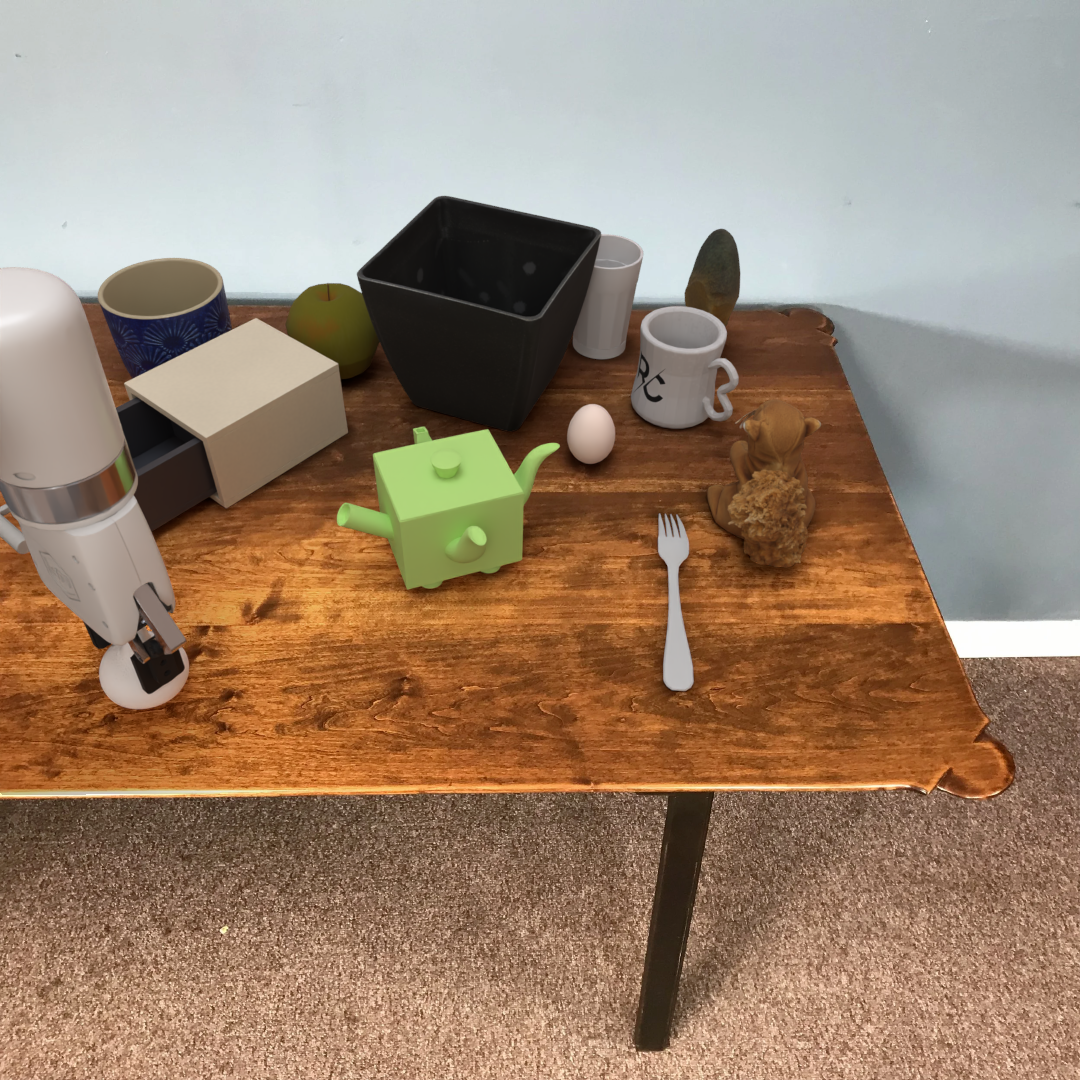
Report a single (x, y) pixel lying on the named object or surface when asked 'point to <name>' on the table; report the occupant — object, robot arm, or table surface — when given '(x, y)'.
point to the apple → (334, 326)
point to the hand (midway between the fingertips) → (139, 657)
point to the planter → (163, 310)
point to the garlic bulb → (135, 678)
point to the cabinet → (249, 404)
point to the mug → (681, 368)
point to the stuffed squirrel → (768, 486)
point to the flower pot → (478, 306)
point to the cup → (609, 299)
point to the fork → (675, 608)
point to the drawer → (152, 469)
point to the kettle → (448, 506)
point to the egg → (591, 434)
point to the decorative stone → (715, 276)
